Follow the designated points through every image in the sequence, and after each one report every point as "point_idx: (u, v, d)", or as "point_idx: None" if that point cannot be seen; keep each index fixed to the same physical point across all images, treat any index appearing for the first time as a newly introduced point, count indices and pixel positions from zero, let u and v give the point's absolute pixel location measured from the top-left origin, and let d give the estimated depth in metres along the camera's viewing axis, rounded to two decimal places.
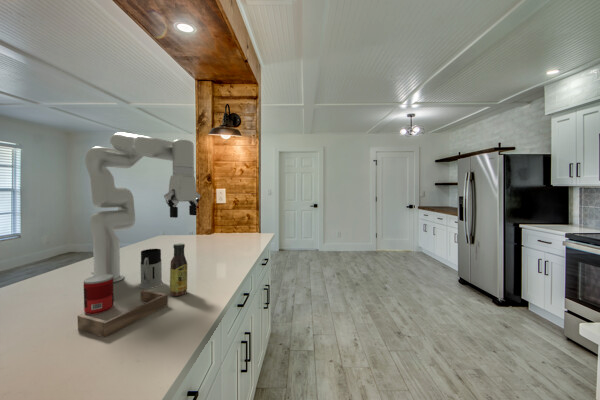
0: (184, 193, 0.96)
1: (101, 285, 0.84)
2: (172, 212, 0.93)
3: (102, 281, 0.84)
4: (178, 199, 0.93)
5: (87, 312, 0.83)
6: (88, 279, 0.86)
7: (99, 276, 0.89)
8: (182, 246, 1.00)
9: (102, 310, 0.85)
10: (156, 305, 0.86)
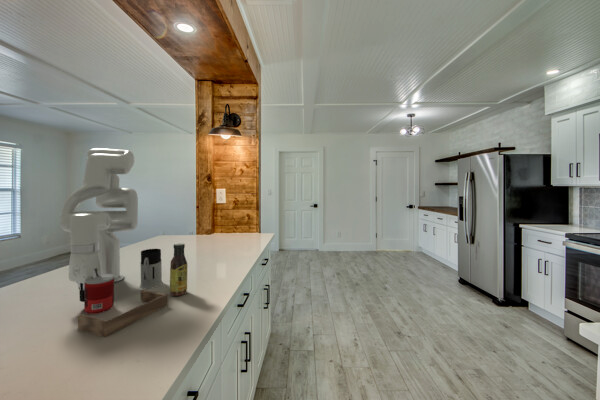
0: None
1: (102, 285, 0.84)
2: None
3: (103, 282, 0.84)
4: None
5: (87, 312, 0.83)
6: None
7: (100, 275, 0.88)
8: (182, 246, 1.00)
9: (102, 310, 0.85)
10: (156, 305, 0.86)
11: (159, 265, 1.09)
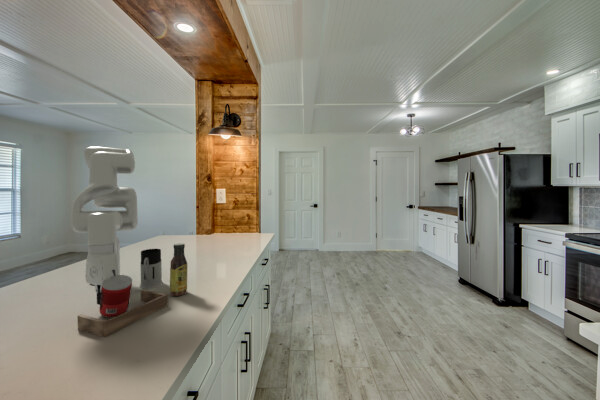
0: None
1: (118, 292, 0.79)
2: None
3: (120, 289, 0.79)
4: None
5: (101, 314, 0.80)
6: (107, 280, 0.81)
7: (119, 277, 0.84)
8: (182, 246, 1.00)
9: (116, 315, 0.81)
10: (156, 305, 0.86)
11: (159, 265, 1.09)
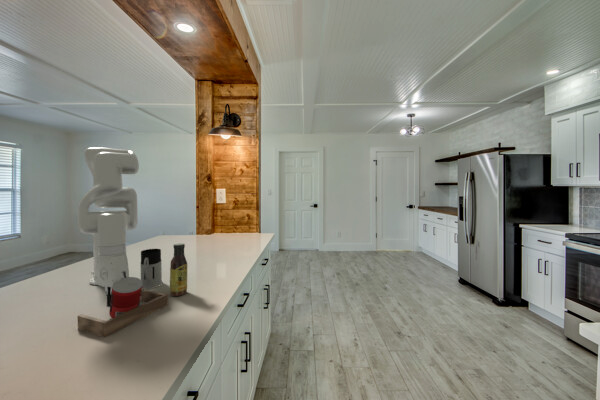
0: None
1: (127, 295, 0.77)
2: None
3: (129, 291, 0.77)
4: None
5: (111, 316, 0.79)
6: (118, 282, 0.79)
7: (129, 279, 0.82)
8: (182, 246, 1.00)
9: None
10: (156, 305, 0.86)
11: (159, 265, 1.09)
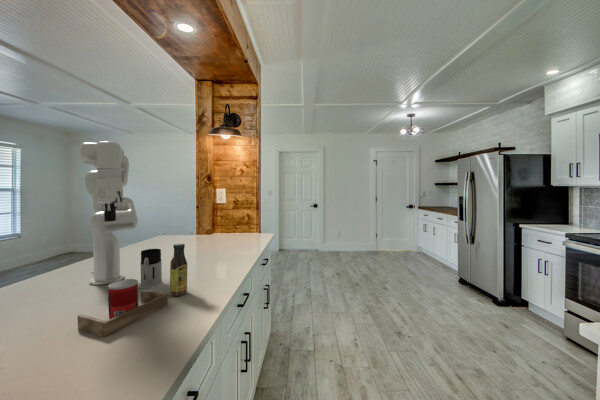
0: None
1: (123, 291, 0.79)
2: (113, 216, 0.98)
3: (125, 287, 0.79)
4: None
5: None
6: (113, 284, 0.82)
7: (125, 281, 0.84)
8: (182, 246, 1.00)
9: None
10: (156, 305, 0.86)
11: (159, 265, 1.09)
